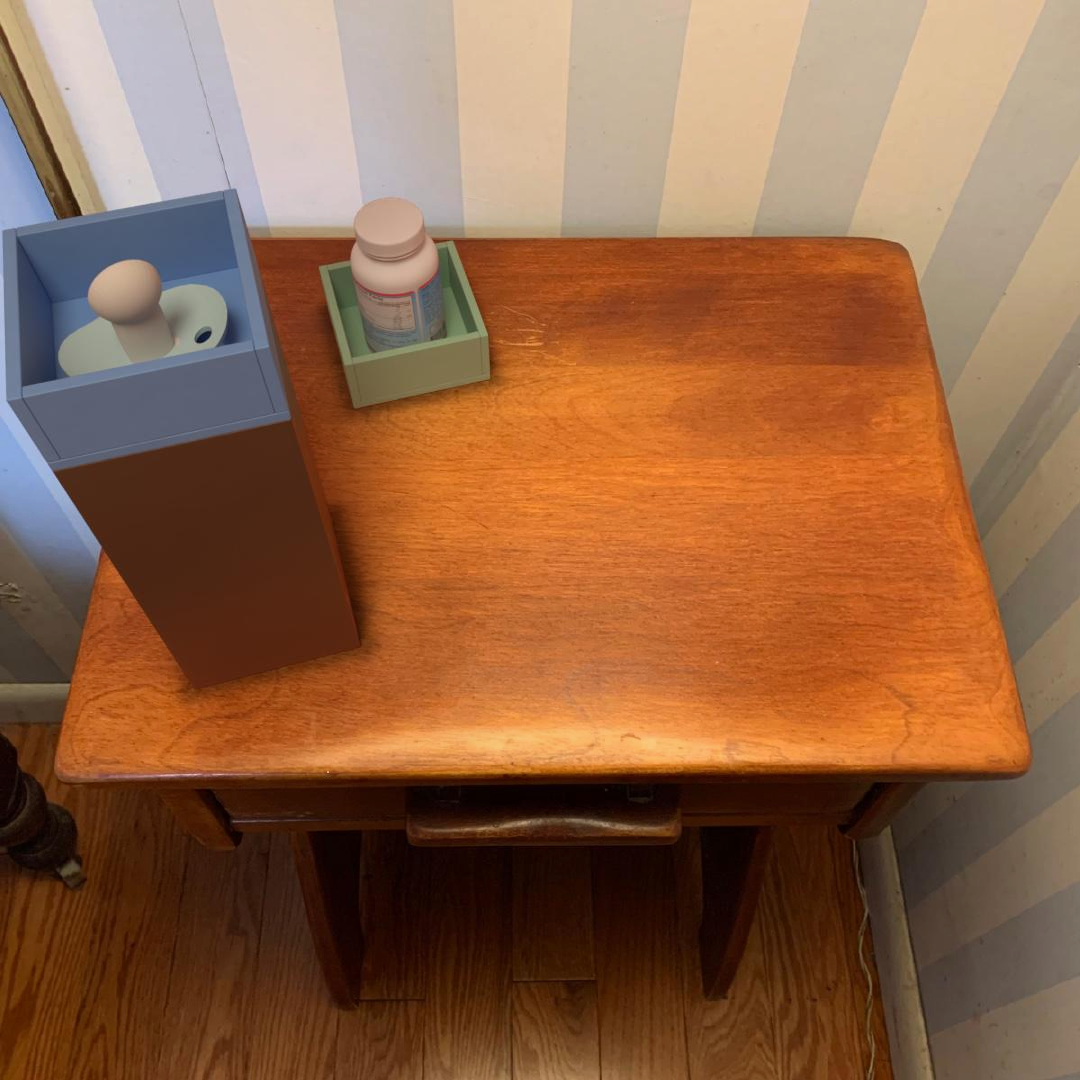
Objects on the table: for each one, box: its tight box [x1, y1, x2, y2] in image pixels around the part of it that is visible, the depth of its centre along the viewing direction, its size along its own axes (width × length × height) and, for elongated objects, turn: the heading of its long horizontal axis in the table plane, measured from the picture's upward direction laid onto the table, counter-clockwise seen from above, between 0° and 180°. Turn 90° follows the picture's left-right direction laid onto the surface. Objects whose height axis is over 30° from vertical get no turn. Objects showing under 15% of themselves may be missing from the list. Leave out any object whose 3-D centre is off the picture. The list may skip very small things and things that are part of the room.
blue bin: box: [1, 187, 361, 690], centre depth 54 cm, size 10×10×27 cm
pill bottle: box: [349, 196, 447, 353], centre depth 72 cm, size 6×6×11 cm
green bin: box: [318, 240, 491, 410], centre depth 76 cm, size 10×10×5 cm
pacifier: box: [58, 260, 228, 377], centre depth 44 cm, size 7×6×6 cm
